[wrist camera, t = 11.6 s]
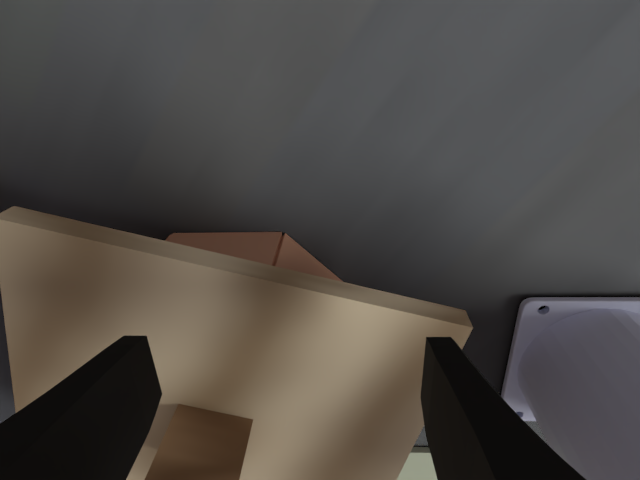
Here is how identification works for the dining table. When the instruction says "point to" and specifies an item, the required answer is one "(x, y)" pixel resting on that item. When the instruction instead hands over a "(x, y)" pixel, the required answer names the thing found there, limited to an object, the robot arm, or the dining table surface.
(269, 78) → the dining table surface
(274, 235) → the bowl
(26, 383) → the cover board
